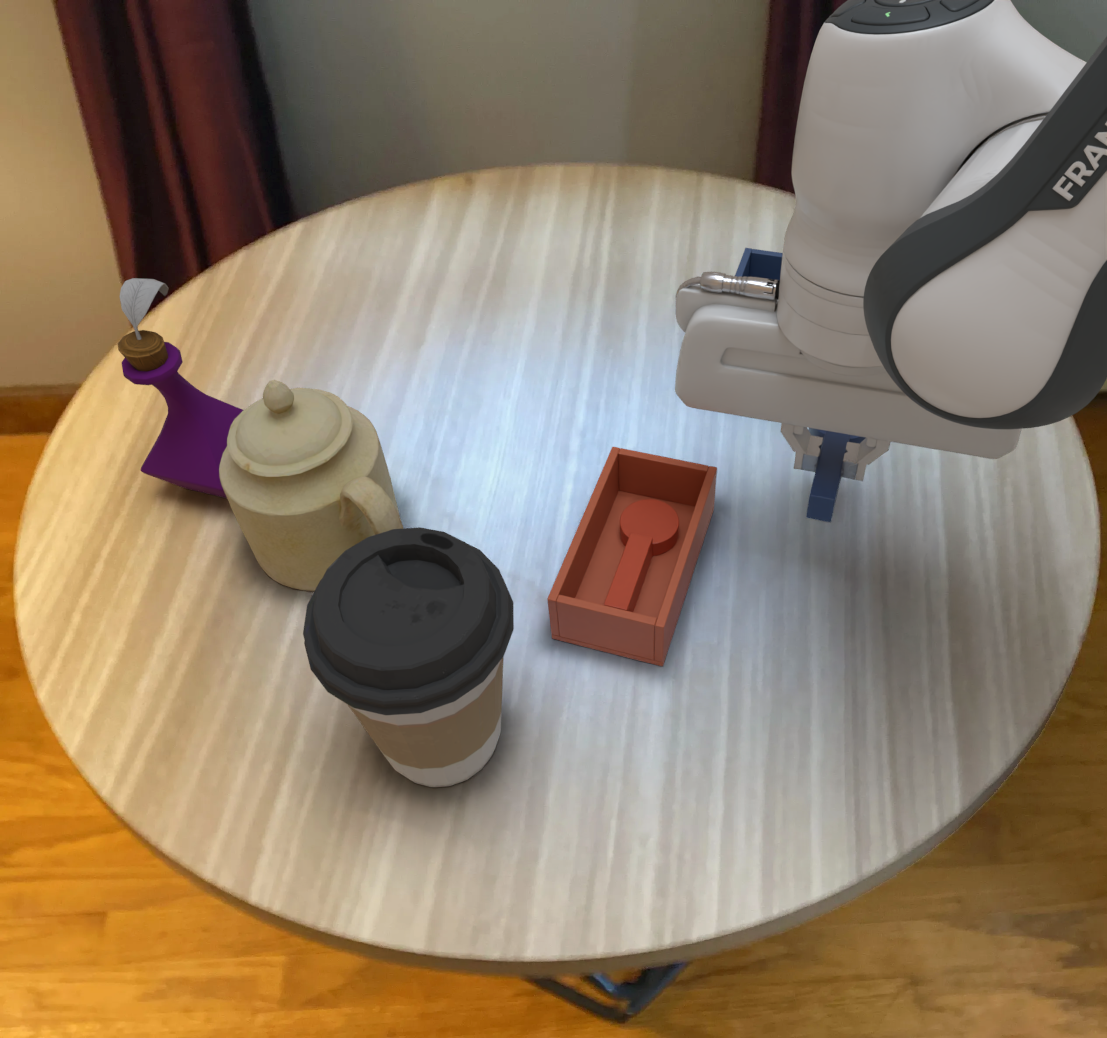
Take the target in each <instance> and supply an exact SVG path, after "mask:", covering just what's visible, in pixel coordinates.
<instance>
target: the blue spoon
mask: <svg viewBox="0 0 1107 1038" xmlns="http://www.w3.org/2000/svg"><path fill="white" fill-rule="evenodd" d="M808 430H809V432H810V434H811V435H813V436H818V437H823V442H822V447H821V453H820V458H819V459H818V466H817V470H816V471H815V472H814V475H813V479H812V484H811V488H810V492H809V495H808V500H807V501H808V502H807V508H806V513H805V518H806V519H810V520H815V521H821V522H826V523H831V522H832V520H833V516H834V512H835V506H836V503H837V499H838V493H839V490H840V485H841V481H842V477H841V469H842V464H843V459H844V454H845V450H846V445H847V442H852V443H859V444H860V443H861V442H862V441H863V440H864V439H865V438H866V437H860V436H854V435H848V434H843V433H837V432H831V431H825V430H819V429H813V428H808Z"/></svg>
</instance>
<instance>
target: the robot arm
mask: <svg viewBox="0 0 1107 1038" xmlns="http://www.w3.org/2000/svg"><path fill="white" fill-rule="evenodd" d="M793 141H794V143H793V150H792V157H791V159H792V160H791V182H792V186H793V190H794V194H795V206H794V208H793V209H794V210H793V212H792V215H791V217H790V219H789V221H788V224H787V226H786V230H785V233H784V237H783V240H784V241H783V246H782V253H783V255H782V264H781V274H780V280H774V279H767V278H759V277H741V276H739V277H737V276H735V275H729V274H727V273H724V272H721V271H703V272H702V274H701V276H695V277H691V278H688V279H687V280H685V281H684V282H682V283H681V284H680V285H679V287H678V288H677V290H676V293H675V309H674V310H675V320H676V323H677V325H678V327H679V329H681V331H682V332H683V333H684V335H683V339H682V341H681V345H680V349H679V354H678V358H677V365H676V370H675V377H674V378H675V379H674V393H675V395H676V396H677V397H678V398H679V400H680V401H681V402H682V403H683V404H684V405H685V406H686V407H688V408H691V409H696V410H702V411H707V412H708V411H709V412H714V413H720V414H727V415H732V416H738V417H745V418H749V419H756V420H761V421H767V422H772V423H773V422H774V423H778V424H780V433H781V435H782V436H783V438H784V440H785V441H786V442H787V444H788V445H789V447H790V449H791V450H792V451H793V452H794V453H795V455H794V461H793V462H794V463H793V469H794V470H798V471H799V470H800V471H805V472H811V473H815V471H816V470H817V466H818V459H819V458H820V453H821V447H822V442H823V437H818V436H813V435H811V434H810V432H809V430H808V429H809V428H813V429H819V430H825V431H831V432H837V433H843V434H848V435H854V436H860V437H866V438H865V439H864V440H863V441H862V442H861V443H860V444H859V443H852V442H847V445H846V450H845V454H844V459H843V464H842V469H841V478H842V479H843V478H844V479H849V480H854V481H859V482H863V481H864V478H865V474H866V470H867V466H870V465H871V464H872V463H873V462H875V461H876V460H878V459H879V458H880V457H882V456H883V455H884V454H886V453H887V452H888V451H889V450H890V446H891V443H897V444H902V445H908V446H913V447H920V448H926V449H930V450H937V451H943V452H948V453H955V454H960V455H967V456H973V457H978V458H983V459H989V460H998V459H1001V458H1003V457H1004V456H1006V455H1009V454H1011V453H1012V452H1014V451H1015V450H1016V449H1017V446H1018V444H1019V441H1020V437H1021V435H1022V430H1023V429H1034V428H1039V427H1045V426H1049V425H1052V424H1057V423H1059V422H1061V421H1063V420H1066V419H1068V418H1070V417H1071V416H1074V415H1075V414H1077V413H1078V412H1081V410H1083V409H1084V408H1085V407H1087V406H1088V405H1089V404H1090V403H1091V402H1092V401H1093V400H1094V399H1095V397H1096V396H1097V395H1098V394H1099V392H1100V391H1101V390H1102V388H1103V386H1104V385H1105V383H1106V381H1107V36H1106V37H1105V38H1104V39H1103V41H1101V43H1100V44H1099V46H1098V47H1097V48H1096V49H1095V51H1094V52H1093V54H1092V55H1091V56H1090V57H1089V59H1088V60H1087V61H1084V60H1083V59H1081V58H1080V57H1077V56H1076V55H1074V54H1072V53H1070V52H1069V51H1067V50H1065V49H1064V48H1062V47H1060V46H1059V45H1058V44H1057V43H1055V42H1053V41H1051V40H1050V39H1049V38H1048V37H1046V36H1045V35H1043V34H1042V33H1041V32H1039V31H1038V30H1037V29H1035V28H1034V27H1033V26H1032V25H1031V24H1030V23H1029V22H1028V21H1027V20H1026V19H1025V18H1024V17H1023V16H1022V15H1021V14H1020V12H1019V11H1018V9H1017V8H1016V7H1015V5H1014V3H1013V2H1012V0H846V1H845V2H843V3H842V4H841V5H840V6H838V7H837V8H836V9H835V10H834V12H833V13H831V14H830V15H829V16H828V17H827V18H826V19H825V21H824V22H823V24H822V26H821V27H820V29H819V31H818V33H817V36H816V39H815V42H814V45H813V48H812V51H811V54H810V58H809V61H808V65H807V69H806V73H805V77H804V82H803V88H802V92H801V96H800V103H799V109H798V115H797V121H796V127H795V135H794V140H793Z"/></svg>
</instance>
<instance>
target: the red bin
mask: <svg viewBox="0 0 1107 1038" xmlns="http://www.w3.org/2000/svg"><path fill="white" fill-rule="evenodd" d="M717 474H718V467H717V466H712V465H707V464H703V463H698V462H694V461H689V460H687V461H686V460H683V459H678V458H673V457H667V456H662V455H657V454H652V453H647V452H643V451H638V450H632V449H627V448H623V447H618V446H611V448H610V452H609V453H608V455H607V458H606V461H605V462H604V465H603V467H602V470H601V472H600V475H599V477H598V479H597V482H596V484H595V486H594V489H593V490H592V493H591V495H590V497H589V500H588V502H587V505H586V507H585V510H584V512H583V514H582V516H581V519H580V521H579V524H578V526H577V528H576V530H575V533H574V536H573V538H572V540H571V543H570V545H569V547H568V550H567V552H566V554H565V556H564V559H563V561H562V564H561V565H560V568H559V571H558V573H557V574H556V577H555V580H554V582H553V584H552V587H551V590H550V591H549V594H548V595H547V599H546V600H547V607H548V608H547V609H548V616H549V624H550V633H551V639H552V640H557V641H561V642H564V643H568V644H572V645H575V646H579V647H584V648H588V649H592V650H596V651H599V652H604V653H607V654H611V655H616V656H619V657H623V658H626V659H627V658H628V659H632V660H635V661H640V662H643V663H647V664H651V665H655V666H659V667H664V665H665V661H666V659H667V655H668V652H669V649H670V646H671V643H672V640H673V637H674V633H675V631H676V628H677V624H678V622H679V618H680V616H681V612H682V609H683V606H684V603H685V601H686V598H687V597H686V596H687V593H688V591H689V587H690V584H691V582H692V579H693V576H694V573H695V569H696V567H697V566H696V565H697V562H698V559H699V557H700V554H701V550H702V548H703V545H704V541H705V538H706V535H707V532H708V530H709V527H710V526H709V525H710V523H711V519H712V517H713V513H714V511H715V502H716V501H715V500H716V488H717ZM645 499H654V500H659V501H662V502H665V503H667V504H668V505H670V506H671V507H672V508H673V509H674V510H675V511H676V513H677V515H678V517H679V536H678V540H677V542H676V544H675V545H674V546H673V547H672V548H671V549H670V550H669V551H667V552H665V553H663V554H660V555H656V556H652V560H651V563H650V566H649V568H648V571H647V574H646V577H645V580H644V583H643V586H642V588H641V591H640V594H639V597H638V600H637V603H636V605H635V608H634V611H633V612H630V611H625V610H621V609H617V608H613V607H609V606H605V605H604V602H605V600H606V597H607V594H608V592H609V589H610V586H611V584H612V581H613V578H614V576H615V573H616V570H617V568H618V565H619V562H620V560H621V557H622V554H623V552H624V549H625V545H624V544H623V542H622V540H621V538H620V517H621V514H622V512H623V511H624V510H625V508H626V507H628V506H629V505H630V504H632V503H634V502H636V501H640V500H645Z"/></svg>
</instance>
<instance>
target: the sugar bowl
mask: <svg viewBox="0 0 1107 1038" xmlns="http://www.w3.org/2000/svg"><path fill="white" fill-rule="evenodd" d="M263 389H264V390H263V391H262V398H260V399H258V400H257V401H255V402H254V403H252V404H250V405H249V406H247V407H245V408H244V409H243V411H242V412H241V413H240V414H239V415H238V416H237V417H236V418H235V419H234V421H233V423H232V424H231V426H230V430H229V434H228V438H227V447H226V449H225V451H224V452H223V455H222V458H221V462H220V466H219V477H220V481H221V485H222V487H223V490H224V492H225V494H226V497H227V498H226V499H227V501H228V503H229V506H230V509H231V511H232V513H233V515H234V517H235V519H236V521H237V523H238V526H239V528H240V529H241V531H242V533H243V535H244V536H243V537H245V540H246V541H247V544H248V546H249V547H250V549H251V552H252V554H253V555H254V557H255V560H256V561H257V563H258V565H259V566H260V568H261V569H262V570H263V571H264V573H265V574H266V575H267V576H268V577H269V578H271V579H272V581H275V582H277V583H278V584H280V585H283V586H285V587H287V588H291V589H295V590H300V591H311V592H314V591H315V589H316V587H317V586H318V584H319V582H320V580H321V579H322V578H323V576H324V574H325V572H326V570H327V569H328V568H329V567H330V566H331V564H332V563H333V562H334V561H335V560H336V559H337V558H338V557H339V556H340V555H341V554H342V553H343V552H344V551H345V550H347V549H349V548H351V547H352V546H354V545H356V544H357V543H359V542H361V541H362V540H364V539H366V538H367V537H370V536H373V535H376V534H380V533H383V532H386V531H389V530H392V529H403V528H404V525H403V522H402V520H401V516H400V511H399V508H398V503H397V498H396V495H395V491H394V486H393V483H392V478H391V475H390V472H389V471H390V470H389V467H388V464H387V461H386V457H385V454H384V451H383V448H382V444H381V441H380V438H379V435H378V431H377V429H376V428H375V426H374V424H373V423H372V422H371V420H370V419H369V417H367V416H366V415H365V414H364V413H362V412H361V411H359V410H357V409H356V408H354V407H352V406H349V405H347V403H346V402H345V401H344V400H343V399H341V397H339V396H338V395H336V394H335V393H332V392H330V391H325V390H322V389H319V388H310V387H294V388H290V387H289V386H288V385H287V384H286V383H284V382H282V381H279V380H277V379H272V380H269V381H268V382H267V384H266V385H265V386H264V388H263Z"/></svg>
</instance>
